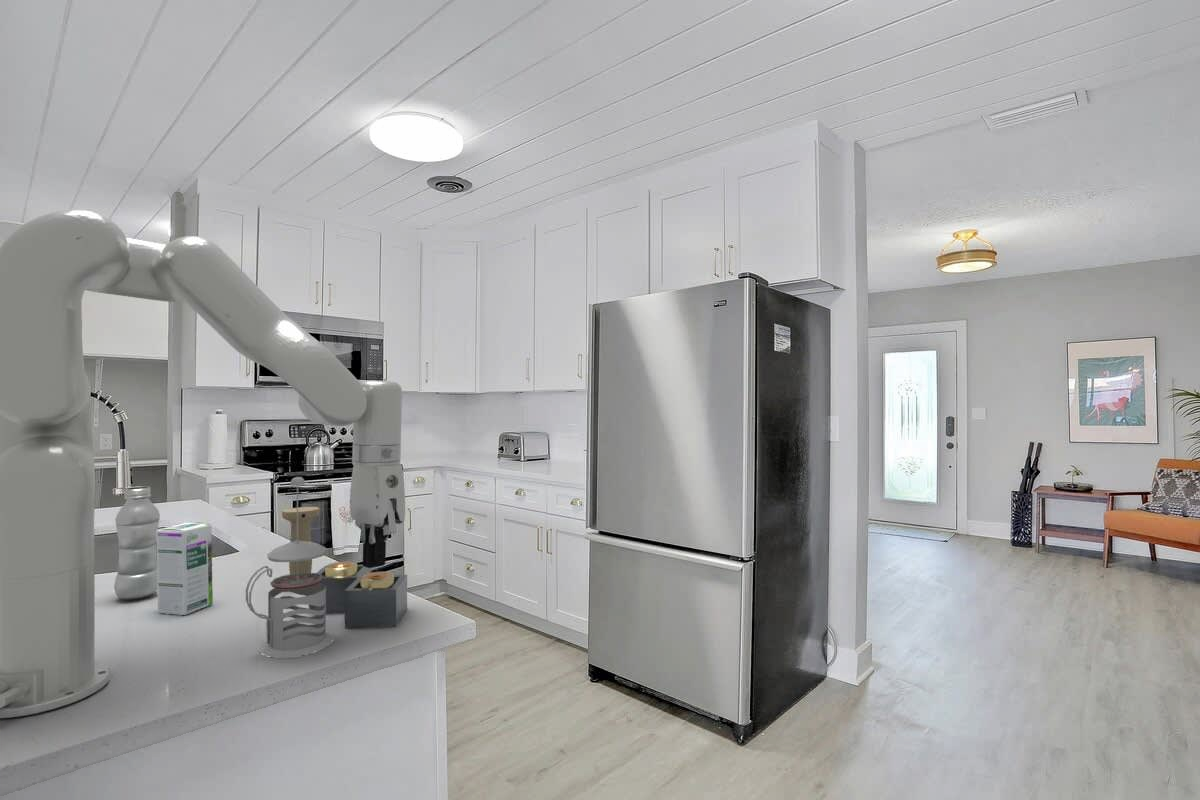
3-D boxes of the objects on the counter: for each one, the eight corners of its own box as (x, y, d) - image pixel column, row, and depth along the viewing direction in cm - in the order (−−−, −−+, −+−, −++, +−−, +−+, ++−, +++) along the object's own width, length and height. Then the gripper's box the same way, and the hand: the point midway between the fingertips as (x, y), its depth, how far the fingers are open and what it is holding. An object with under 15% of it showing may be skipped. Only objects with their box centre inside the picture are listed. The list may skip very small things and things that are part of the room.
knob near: (389, 614, 100) (389, 578, 100) (356, 615, 99) (356, 579, 99) (396, 603, 105) (397, 569, 105) (365, 604, 104) (365, 570, 104)
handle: (279, 587, 118) (279, 509, 118) (315, 581, 122) (315, 505, 122) (284, 593, 114) (284, 513, 114) (321, 587, 118) (321, 509, 118)
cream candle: (351, 601, 106) (351, 567, 106) (320, 601, 105) (320, 568, 105) (360, 591, 111) (360, 559, 111) (330, 592, 111) (331, 560, 111)
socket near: (396, 626, 98) (396, 589, 98) (344, 628, 98) (344, 590, 98) (407, 609, 106) (407, 574, 106) (359, 610, 106) (359, 575, 106)
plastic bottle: (105, 601, 109) (104, 489, 109) (143, 590, 116) (143, 484, 116) (131, 605, 107) (131, 491, 107) (168, 593, 114) (168, 486, 114)
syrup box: (185, 616, 102) (185, 529, 102) (155, 613, 104) (155, 528, 103) (213, 605, 108) (213, 522, 108) (184, 602, 109) (185, 521, 109)
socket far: (357, 612, 105) (357, 577, 105) (309, 613, 104) (309, 578, 104) (370, 597, 113) (370, 564, 113) (325, 598, 112) (325, 565, 112)
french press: (343, 644, 91) (344, 477, 91) (257, 669, 83) (257, 484, 83) (319, 626, 98) (319, 471, 98) (237, 647, 90) (237, 477, 90)
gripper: (422, 457, 100) (419, 570, 100) (373, 451, 109) (370, 554, 109) (380, 459, 94) (377, 579, 94) (332, 453, 104) (329, 561, 104)
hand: (374, 565), depth 102 cm, fingers closed
